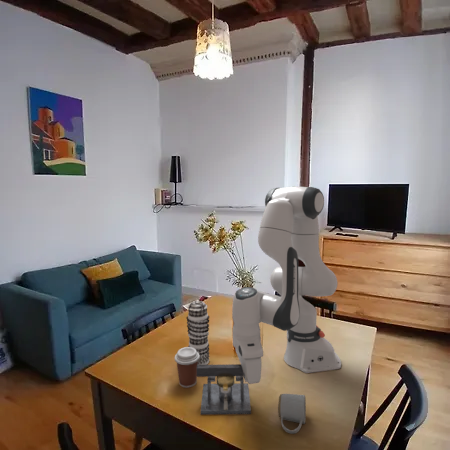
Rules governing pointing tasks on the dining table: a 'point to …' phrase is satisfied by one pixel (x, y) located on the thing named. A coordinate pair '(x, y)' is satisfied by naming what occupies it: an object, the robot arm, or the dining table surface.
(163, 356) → the dining table surface
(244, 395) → the post base
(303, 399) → the ceramic mug
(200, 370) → the grey lintel crossbar
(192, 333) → the grey ridged column
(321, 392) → the dining table surface
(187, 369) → the coffee cup
